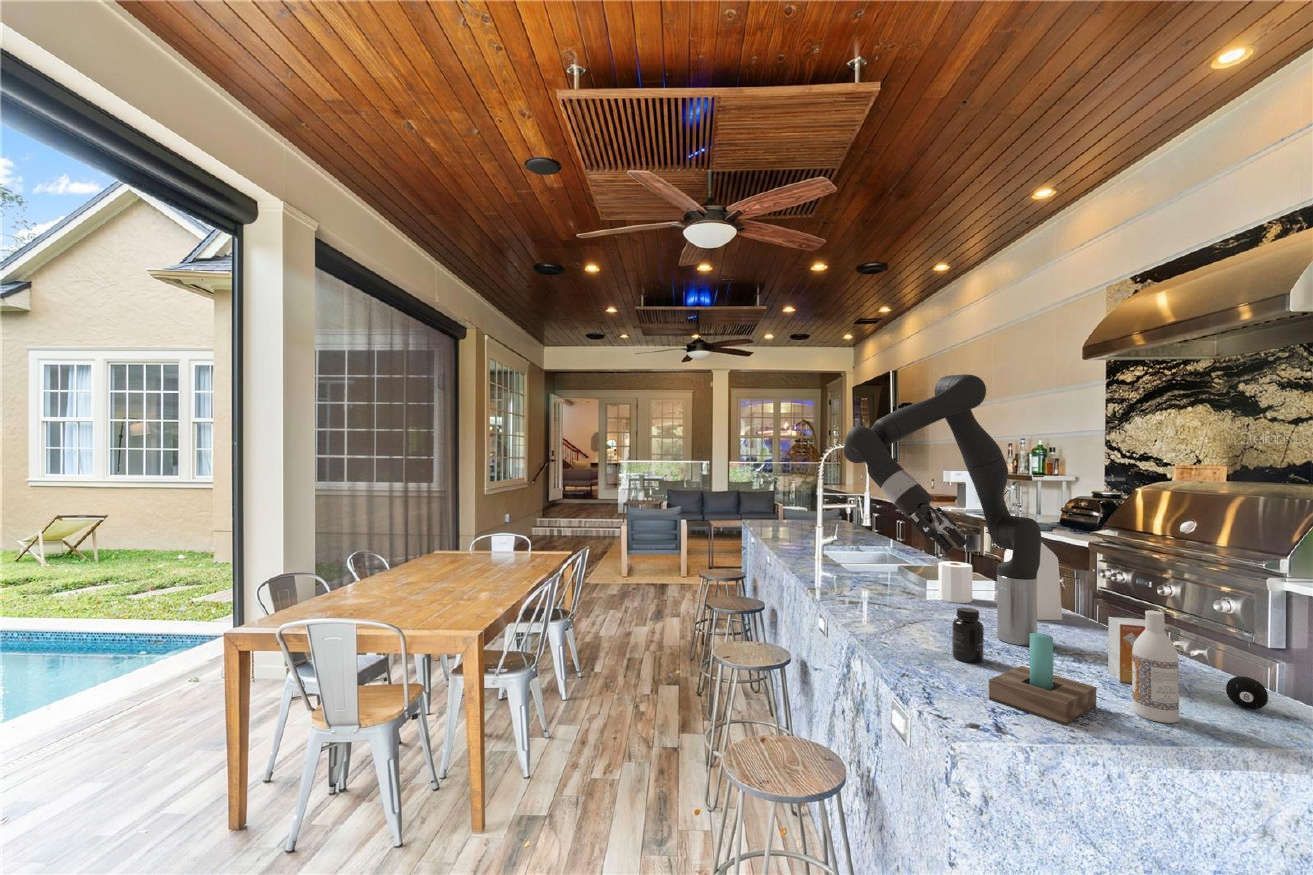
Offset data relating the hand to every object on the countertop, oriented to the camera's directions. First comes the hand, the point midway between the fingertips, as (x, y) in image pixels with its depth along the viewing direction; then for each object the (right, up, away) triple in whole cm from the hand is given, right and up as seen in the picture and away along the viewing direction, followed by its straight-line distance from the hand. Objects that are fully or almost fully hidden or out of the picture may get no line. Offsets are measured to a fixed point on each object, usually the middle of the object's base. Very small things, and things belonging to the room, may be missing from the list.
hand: (957, 547), depth 134 cm
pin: (+11, -29, -13) cm, 33 cm away
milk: (+49, -31, +53) cm, 78 cm away
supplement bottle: (+9, -30, +13) cm, 34 cm away
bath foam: (+29, -29, -18) cm, 45 cm away
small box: (+40, -30, 0) cm, 50 cm away
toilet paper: (+35, -31, +70) cm, 84 cm away
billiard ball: (+51, -30, -14) cm, 60 cm away
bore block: (+11, -29, -13) cm, 34 cm away
